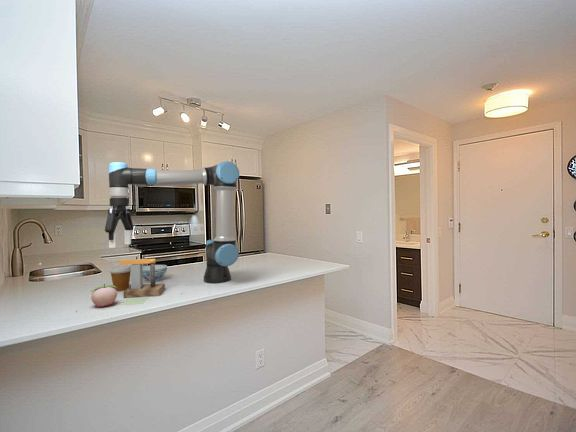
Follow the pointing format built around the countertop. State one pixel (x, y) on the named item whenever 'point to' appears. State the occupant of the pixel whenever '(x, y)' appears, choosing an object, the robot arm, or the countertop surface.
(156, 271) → the chinaware
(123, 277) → the disposable coffee cup
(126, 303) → the mat
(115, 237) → the robot arm
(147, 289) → the socket block
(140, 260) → the clip
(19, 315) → the countertop surface
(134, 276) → the gray square post
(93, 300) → the decorative fruit
